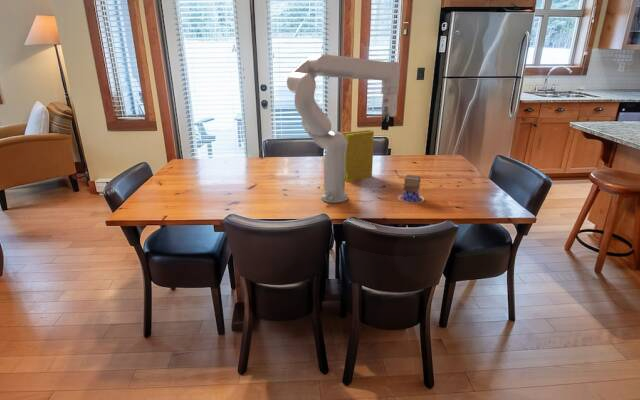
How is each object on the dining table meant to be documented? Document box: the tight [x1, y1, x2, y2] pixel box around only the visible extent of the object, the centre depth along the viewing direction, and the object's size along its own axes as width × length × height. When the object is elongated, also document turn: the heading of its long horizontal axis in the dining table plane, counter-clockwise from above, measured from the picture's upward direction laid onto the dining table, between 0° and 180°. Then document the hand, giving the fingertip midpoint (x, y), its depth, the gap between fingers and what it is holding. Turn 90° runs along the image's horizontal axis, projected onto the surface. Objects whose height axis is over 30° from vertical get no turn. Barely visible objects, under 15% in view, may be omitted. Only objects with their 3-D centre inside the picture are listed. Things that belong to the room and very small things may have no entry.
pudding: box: [397, 190, 425, 204], centre depth 172 cm, size 12×12×5 cm
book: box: [340, 129, 375, 182], centre depth 198 cm, size 17×7×25 cm, turn 112°
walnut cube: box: [403, 174, 422, 193], centre depth 170 cm, size 6×6×6 cm
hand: (387, 128), depth 175 cm, fingers open, 9 cm apart
